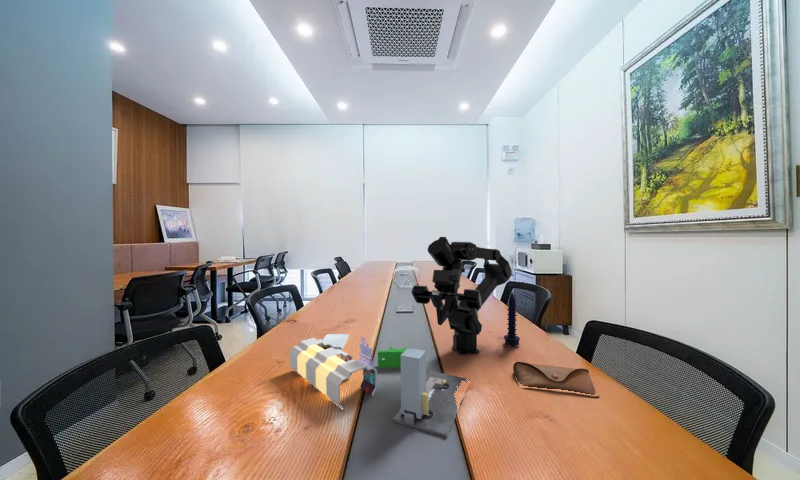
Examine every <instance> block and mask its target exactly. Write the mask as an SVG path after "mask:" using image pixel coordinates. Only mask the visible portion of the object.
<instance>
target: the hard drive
mask: <svg viewBox="0 0 800 480" xmlns="http://www.w3.org/2000/svg"><path fill="white" fill-rule="evenodd" d="M349 337H350V335H349V333H328V334H326V335H325V336H324V337H323V339H322V340H323V341H325V342H327V343H329V344H330V345H332V346H333V348H334V349H340V350H342V351H343V349H344V347H345V345H346V343H347V341H348V339H349Z"/></svg>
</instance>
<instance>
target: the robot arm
mask: <svg viewBox="0 0 800 480" xmlns="http://www.w3.org/2000/svg"><path fill="white" fill-rule="evenodd" d="M427 253H428V254H429V256H431V258H432V259H433V260H434V262H435V263H436V265H437V266H439V267H442V268H441V269H434V270H433V273H432V274H433V275H432V280H431V282H432V283H434V285H433V287H434V289H432V290H430V291H429V288H428V286H427V285H420V284H418V285H417V284H415V285H413V287H412V289H411V294H412V297H413V299H414V301H415V303H417V304H422V305H423V304H424V305H427V304H429V303H430V302H431V303H432V305H433V307H434V308H435V311H436V312H435V313H436V319H437V320H436V321H437V325H438V326H442V325H443V324H444V323H446V321H447V319H448V325H449V327H450V330H454V331H453V332H454V334H453V335H452V345H451V347H452V348H453V350H454V351H456V352H457V351H458V352H459V353H458V352H457V353H458V354H460V355H461V354H463V355H468V354H467V353H470V354H476V353H475V352H478V353H480V350H479V349H478V347H477V346H478V345H477V343H478V341H477V340H478V339H477V338H478V335H480V333H481V332H482V328H483V325H482V323H481V322H480V321H479V310H480V309H482V307H483V305H484V303H485V302H487V300H488V299H489V298H490V296H491V295H492V293H493V292H494V291H495V290H496V288H497V287H498V286H501V285H505V283H507V282H508V281H509V280H510V278H511V277H512V274H513V270H512V268H511V266H510V263H509V261H508V260H507V259H506V258H505V257H504V256H503V255H502V254H501V252H500V250H499V249H497V248H487V247H486V248H485V247H480V246H479V247H478V246H477V245H476V244H475V243H473V242H471V241H452V242H451V243H450V242H449V239H448V238H447V237H446V236H439V238H438V239H436V240H434V241H433V242H431V243H430V244H428V247H427ZM476 259H481V260H482V259H483V260H484V262H483V269H484V278H483V279H482V280H481V282H480V283H479V284H478V285H477V286H476V287H475V289H470V288H464V290H463V293H462V292H461V293H459V289H460V287H461V285H460V282H461V277H462V273H465V272H466V269H465V267H464V264H463V261H466V262H467V261H468V262H470V261H475V260H476ZM490 261H495V262H496V263H490ZM443 301H444V302H443Z"/></svg>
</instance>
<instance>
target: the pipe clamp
mask: <svg viewBox="0 0 800 480" xmlns="http://www.w3.org/2000/svg"><path fill="white" fill-rule="evenodd" d="M407 349H408V346H404V347H403V348H399V349H398V348H397V349H395V348H394V347H392V346H388V350H387V349H386V350H377V368H401V354H402V353H403V352H405V351H406V350H407Z"/></svg>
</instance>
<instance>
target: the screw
mask: <svg viewBox="0 0 800 480" xmlns="http://www.w3.org/2000/svg"><path fill="white" fill-rule="evenodd" d="M509 295H510V296H509V298H508V303H507V309H506V310H507V314H506V315H507V319H506V320H507V324H506V325H507V328H506V329H507V330H508V331H507V334H505V335H504V336H503V339H504V343H505V344H506V346H507V345H511V346H510V347H513V346H515V347H518V346H517V345H520V340H521V338H520V337H519V336H518V335H517V327H516V326H518V325H517V324H516V323H517V322H516V321H518V320H517V319H516V318H517V316H518V315H517V314H516V313H517V311H518V309H517V305H516V304H517V303H516V299H515V295H514V292H513V291H511V292H510V294H509Z"/></svg>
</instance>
